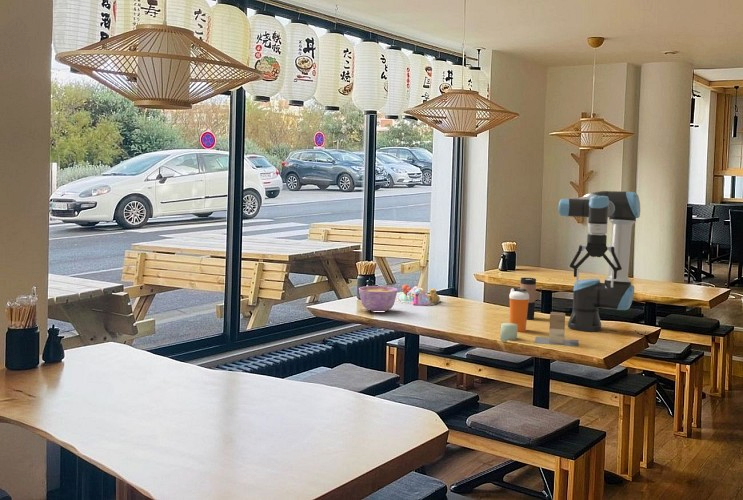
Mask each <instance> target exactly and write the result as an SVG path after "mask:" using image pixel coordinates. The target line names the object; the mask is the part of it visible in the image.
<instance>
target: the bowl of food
mask: <svg viewBox="0 0 743 500" xmlns="http://www.w3.org/2000/svg"><path fill="white" fill-rule="evenodd" d="M398 291H399V290H398V288H396V287H392V286H387V285H385V286H384V285H366V286H361V287H359V288H358V293H359V296H360V297H359V298H360V301H361V305H362V306H363V308H364V309H366V310H368V311H370V310H371V311H389V310H391V309H392V308H393V306H394V305H395V302H396V299H397V298H396V297H397V294H398Z"/></svg>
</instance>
